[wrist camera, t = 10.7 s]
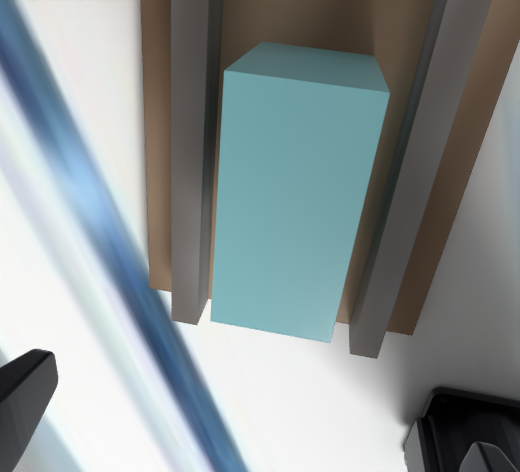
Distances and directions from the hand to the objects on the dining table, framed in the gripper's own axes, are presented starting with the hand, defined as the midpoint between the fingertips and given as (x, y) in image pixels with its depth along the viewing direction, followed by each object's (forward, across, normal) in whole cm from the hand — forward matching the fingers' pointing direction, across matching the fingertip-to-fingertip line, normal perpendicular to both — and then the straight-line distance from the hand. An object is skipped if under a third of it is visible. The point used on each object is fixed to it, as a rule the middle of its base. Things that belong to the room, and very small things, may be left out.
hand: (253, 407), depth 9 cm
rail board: (+12, 0, -2) cm, 12 cm away
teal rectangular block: (+11, 0, -2) cm, 11 cm away
